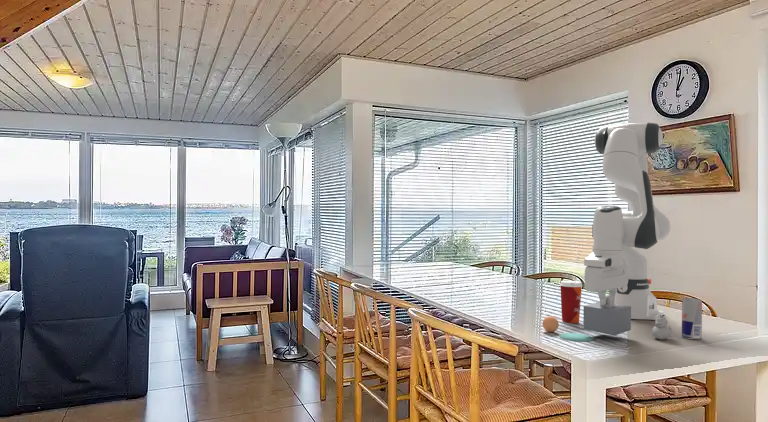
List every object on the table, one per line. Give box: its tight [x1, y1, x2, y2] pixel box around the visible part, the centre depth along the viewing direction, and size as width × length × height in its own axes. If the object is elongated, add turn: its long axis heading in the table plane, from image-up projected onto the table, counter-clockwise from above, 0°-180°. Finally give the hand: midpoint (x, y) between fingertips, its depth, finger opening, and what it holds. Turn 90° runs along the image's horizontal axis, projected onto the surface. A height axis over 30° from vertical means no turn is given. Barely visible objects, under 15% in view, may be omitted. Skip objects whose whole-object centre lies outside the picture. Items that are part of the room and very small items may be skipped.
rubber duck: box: [651, 314, 672, 341], centre depth 163 cm, size 5×7×8 cm
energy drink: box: [681, 297, 703, 340], centre depth 165 cm, size 5×5×12 cm
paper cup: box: [559, 280, 583, 324], centre depth 187 cm, size 8×8×14 cm
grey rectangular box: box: [582, 294, 632, 336], centre depth 164 cm, size 10×10×10 cm
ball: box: [541, 315, 560, 333], centre depth 170 cm, size 5×5×5 cm
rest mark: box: [558, 332, 595, 343], centre depth 163 cm, size 10×10×1 cm
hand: (607, 303), depth 163 cm, fingers closed on grey rectangular box, 3 cm apart
